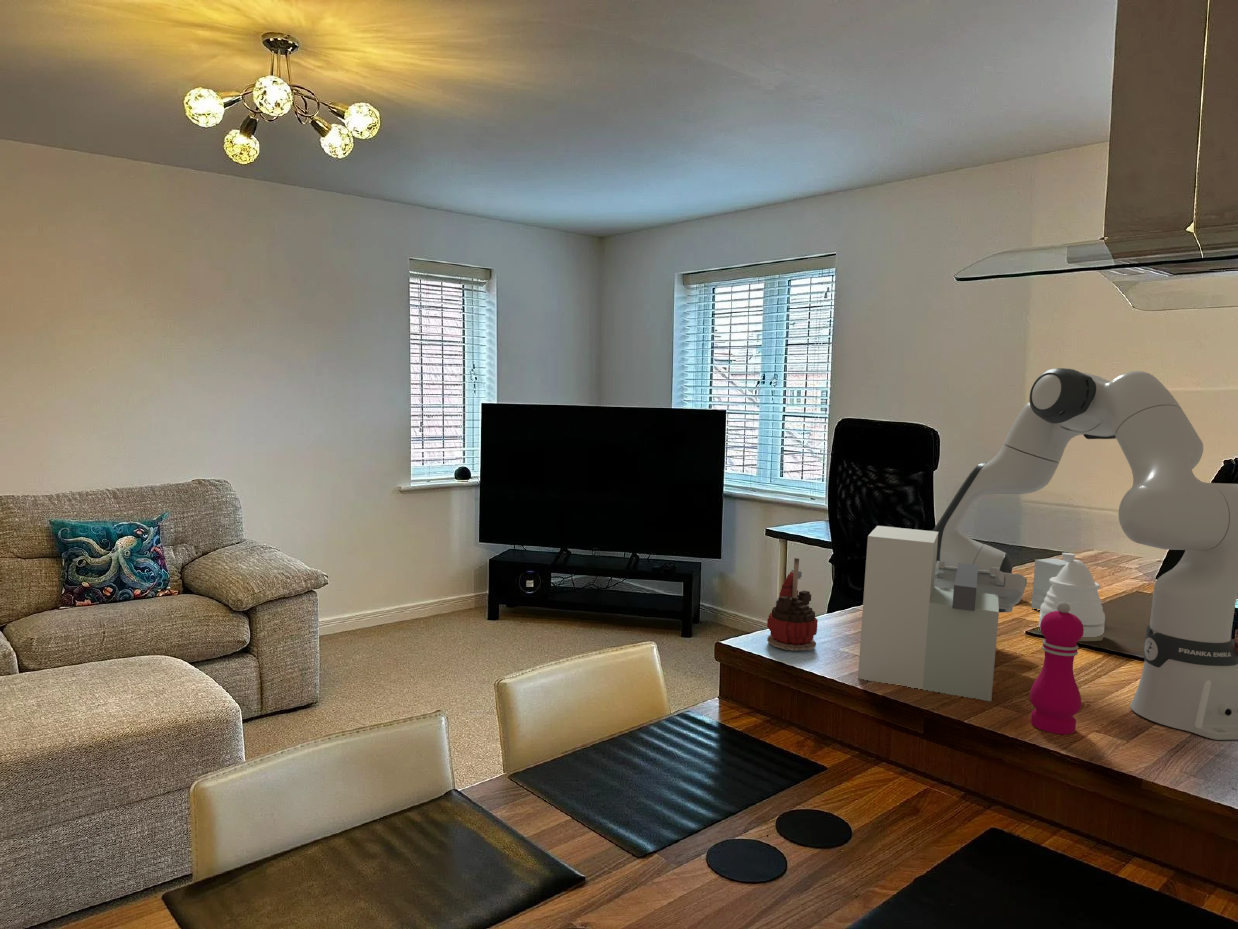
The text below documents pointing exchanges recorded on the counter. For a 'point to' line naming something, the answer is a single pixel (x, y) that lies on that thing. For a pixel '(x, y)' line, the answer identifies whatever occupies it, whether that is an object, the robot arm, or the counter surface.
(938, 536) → the robot arm
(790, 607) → the cake
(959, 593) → the gray rectangular bar
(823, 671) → the counter surface
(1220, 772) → the counter surface
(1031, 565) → the counter surface
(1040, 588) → the supplement box
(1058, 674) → the pepper mill
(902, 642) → the step stand
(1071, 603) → the honey pot
